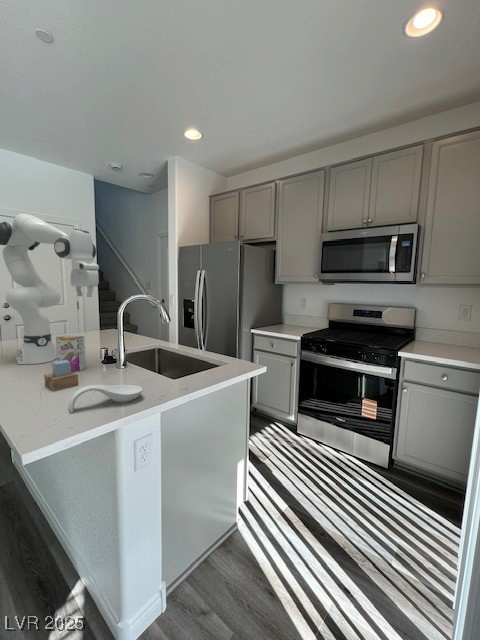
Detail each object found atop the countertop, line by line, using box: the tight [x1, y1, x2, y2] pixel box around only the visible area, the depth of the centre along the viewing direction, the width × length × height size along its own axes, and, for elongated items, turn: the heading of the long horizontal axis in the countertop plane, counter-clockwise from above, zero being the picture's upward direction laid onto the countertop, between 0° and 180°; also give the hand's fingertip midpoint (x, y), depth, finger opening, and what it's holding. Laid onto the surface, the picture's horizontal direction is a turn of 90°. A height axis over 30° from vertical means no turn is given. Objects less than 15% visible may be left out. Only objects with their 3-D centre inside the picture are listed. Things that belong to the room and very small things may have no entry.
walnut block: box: [43, 371, 79, 392], centre depth 119 cm, size 9×9×5 cm
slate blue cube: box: [51, 360, 71, 377], centre depth 119 cm, size 5×5×5 cm
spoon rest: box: [67, 384, 144, 413], centre depth 102 cm, size 24×12×7 cm, turn 128°
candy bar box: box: [55, 334, 87, 372], centre depth 140 cm, size 11×5×16 cm, turn 84°
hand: (84, 296), depth 135 cm, fingers open, 8 cm apart
